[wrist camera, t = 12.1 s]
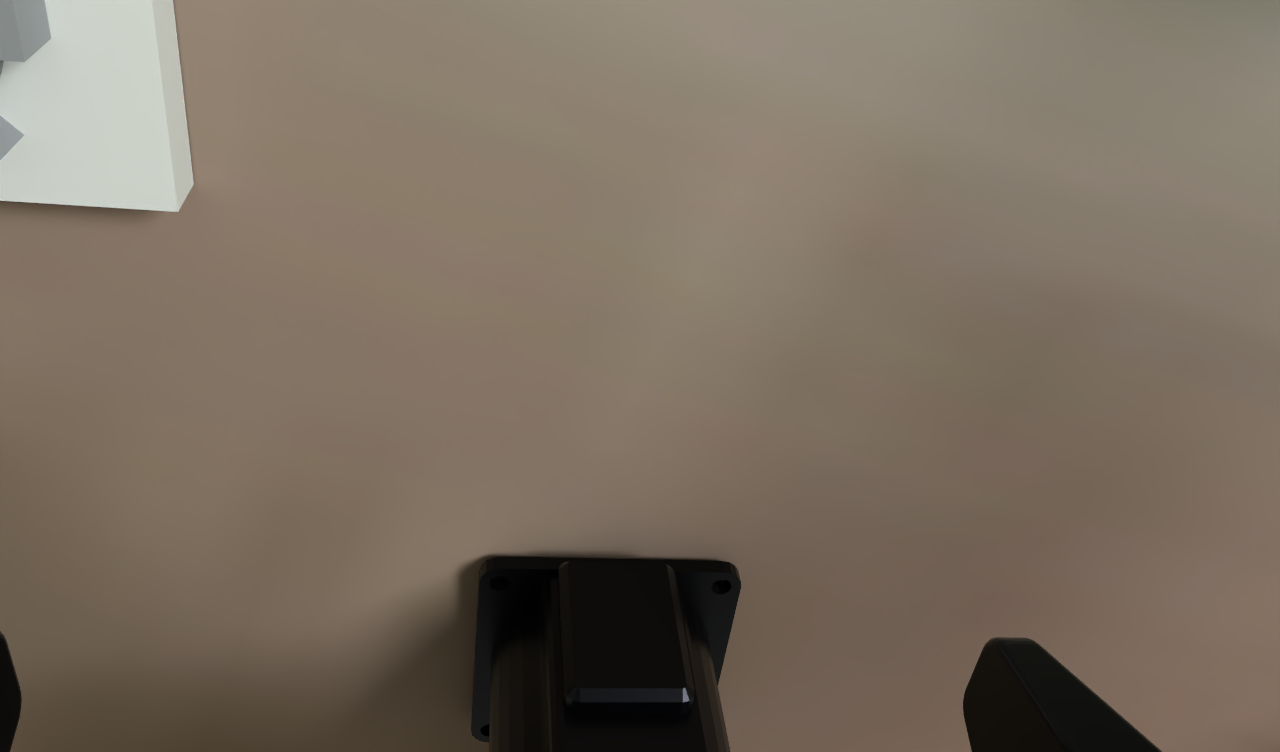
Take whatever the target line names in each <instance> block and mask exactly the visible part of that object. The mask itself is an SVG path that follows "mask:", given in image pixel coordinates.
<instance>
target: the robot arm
mask: <svg viewBox="0 0 1280 752" xmlns="http://www.w3.org/2000/svg"><path fill="white" fill-rule="evenodd" d="M495 576H505V577H506V578H505V579H495V578H494V577H495ZM718 580H725V581H724V582H720V583H715V582H716V581H718ZM740 589H741V581H740V577H739V573H738V570H737V568H736V567H735V565H733V564H731V563H729V562H724V561H690V560H640V559H589V558H539V557H495V558H491V559H489V560H487V561H486V562H485V563H484V564H483V565H482V566H481V568H480V571H479V590H478V609H477V627H476V646H475V665H474V684H473V702H472V722H471V732H472V735H473V736H474V737H475V738H476V739H478V740H480V741H483V742H489V752H730V747H729V742H728V737H727V732H726V727H725V722H724V717H723V712H722V707H721V702H720V697H719V691H718V682H719V678H720V674H721V669H722V665H723V661H724V657H725V653H726V648H727V644H728V640H729V636H730V631H731V627H732V623H733V619H734V614H735V610H736V606H737V602H738V598H739V593H740ZM21 701H22V699H21V690H20V686H19V682H18V679H17V675H16V672H15V668H14V665H13V661H12V658H11V655H10V651H9V648H8V644H7V641H6V639H5V636H4V635H3V634H2V633H1V632H0V752H10V750H11V746H12V743H13V739H14V736H15V732H16V729H17V725H18V722H19V717H20V712H21ZM963 711H964V718H965V723H966V727H967V732H968V736H969V741H970V745H971V750H972V752H1162V751H1161V750H1160V749H1158V748H1157V747H1156V746H1155V745H1154V744H1153V743H1152V742H1150V741H1149V740H1148V739H1147V738H1146V737H1145V736H1144V735H1142V734H1141V733H1140V732H1139V731H1138V730H1137V729H1135V728H1134V727H1133V726H1132V725H1131V724H1130V723H1129V722H1127V721H1126V720H1125V719H1124V718H1123V717H1122V716H1121V715H1119V714H1118V713H1117V712H1116V711H1115V710H1114V709H1113V708H1111V707H1110V706H1109V705H1108V704H1107V703H1106V702H1104V701H1103V700H1102V699H1101V698H1100V697H1099V696H1098V695H1096V694H1095V693H1094V692H1093V691H1092V690H1091V689H1090V688H1088V687H1087V686H1086V685H1085V684H1084V683H1083V682H1082V681H1080V680H1079V679H1078V678H1077V677H1076V676H1075V675H1073V674H1072V673H1071V672H1070V671H1069V670H1068V669H1067V668H1065V667H1064V666H1063V665H1062V664H1061V663H1060V662H1059V661H1057V660H1056V659H1055V658H1054V657H1053V656H1052V655H1051V654H1049V653H1048V652H1047V651H1046V650H1045V649H1044V648H1042V647H1041V646H1040V645H1039V644H1038V643H1036V642H1035V641H1033V640H1031V639H1028V638H992V639H991V640H989V641H988V642H987V643H986V644H985V646H984V648H983V650H982V652H981V655H980V657H979V659H978V662H977V664H976V666H975V669H974V671H973V674H972V676H971V678H970V681H969V683H968V685H967V688H966V690H965V694H964V700H963Z"/></svg>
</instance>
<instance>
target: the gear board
mask: <svg viewBox="0 0 1280 752" xmlns="http://www.w3.org/2000/svg"><path fill="white" fill-rule="evenodd" d="M193 185H194V182H193V173H192V165H191V156H190V147H189V138H188V129H187V120H186V112H185V103H184V94H183V85H182V76H181V67H180V59H179V50H178V41H177V32H176V23H175V15H174V6H173V0H0V201H14V202H30V203H46V204H62V205H77V206H93V207H109V208H125V209H141V210H156V211H172V212H178V211H179V209H180V207H181V206H182V204H183V202H184V200H185V199H186V197H187V195H188V193H189V192H190V190H191V188H192V186H193Z"/></svg>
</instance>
